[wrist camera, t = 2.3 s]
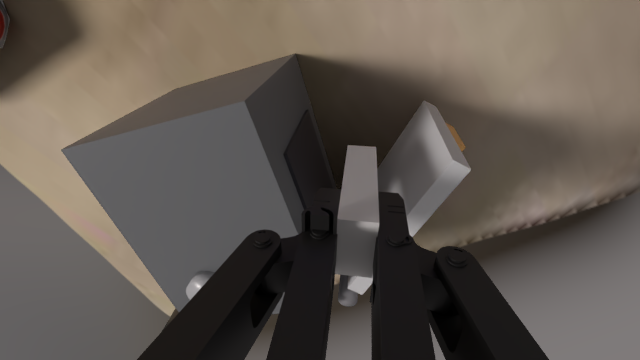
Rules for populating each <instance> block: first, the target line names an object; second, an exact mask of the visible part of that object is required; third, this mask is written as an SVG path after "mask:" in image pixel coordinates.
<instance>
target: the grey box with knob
mask: <svg viewBox="0 0 640 360" xmlns="http://www.w3.org/2000/svg"><path fill="white" fill-rule="evenodd" d="M61 151H62V152H63V153H64V155H65V156H66V158H67V159H68V160H69V162H70V163H71V164H72V166H73V167H74V169H75V170H76V171H77V173H78V174H79V176H80V177H81V178H82V180H83V181H84V182H85V184H86V185H87V187H88V188H89V189H90V191H91V192H92V193H93V195H94V196H95V198H96V199H97V200H98V202H99V203H100V204H101V206H102V207H103V209H104V210H105V211H106V213H107V214H108V215H109V217H110V218H111V220H112V221H113V222H114V224H115V225H116V226H117V228H118V229H119V231H120V232H121V233H122V235H123V236H124V237H125V239H126V240H127V242H128V243H129V244H130V246H131V247H132V248H133V250H134V251H135V253H136V254H137V255H138V257H139V258H140V259H141V261H142V262H143V264H144V265H145V266H146V268H147V269H148V270H149V272H150V273H151V275H152V276H153V277H154V279H155V280H156V281H157V283H158V284H159V286H160V287H161V288H162V290H163V291H164V293H165V294H166V295H167V297H168V298H169V299H170V301H171V302H172V304H173V305H174V306H175V308H176V309H177V310H178V312H180V311H181V310H182V309H183V308H184V306H185V305H186V304H187V303H188V302H189V301H190V300H191V299H192V298H193V296H194V295H195V294H196V293H197V292H198V291H199V290H200V289H201V287H202V286H203V285H204V284H205V283H206V282H207V281H208V280H209V279H210V277H211V276H212V275H213V274H214V273H215V272H216V271H217V270H218V268H219V267H220V266H221V265H222V264H223V263H224V262H225V261H226V259H227V258H228V257H229V256H230V255H231V254H232V253H233V252H234V251H235V249H236V248H237V247H238V246H239V245H240V244H241V243H242V242H243V240H244V239H245V238H246V237H247V236H248V235H250V234H251V233H253V232H255V231H258V230H264V229H265V230H272V231H274V232H276V233H278V235H279V236H280V238H288V237H293V236H296V235H298V234H300V233H301V232H302V217H301V214H302V212H303V211H304V210H305V209H306V208H308V207H310V206H312V204H313V201H314V196H315V193H316V192H317V191H318V190H319V189H320V188H333V189H337V188H336V184H335V181H334V178H333V175H332V171H331V168H330V165H329V162H328V158H327V155H326V152H325V149H324V145H323V142H322V139H321V135H320V132H319V129H318V126H317V122H316V119H315V116H314V113H313V109H312V106H311V103H310V100H309V96H308V93H307V90H306V86H305V83H304V80H303V77H302V73H301V70H300V67H299V64H298V60H297V57H296V54H293V55H289V56H286V57H282V58H279V59H276V60H272V61H269V62H265V63H262V64H259V65H255V66H252V67H248V68H245V69H242V70H238V71H235V72H231V73H228V74H225V75H221V76H218V77H214V78H211V79H208V80H204V81H201V82H197V83H194V84H191V85H187V86H184V87H181V88H177V89H174V90H172V91H171V92H169V93H167V94H165V95H163V96H161V97H159V98H157V99H156V100H154V101H152V102H150V103H148V104H146V105H144V106H142V107H140V108H139V109H137V110H135V111H133V112H131V113H129V114H127V115H125V116H124V117H122V118H120V119H118V120H116V121H114V122H112V123H110V124H109V125H107V126H105V127H103V128H101V129H99V130H97V131H95V132H94V133H92V134H90V135H88V136H86V137H84V138H82V139H80V140H78V141H77V142H75V143H73V144H71V145H69V146H67V147H65V148H63V149H62V150H61ZM284 294H285V292H284V293H283V296H282V298H281V299H280V301H279V302H278V304H277V306H276V307H275V309H274V311H273V312H272V314H279V312H280V308H281V305H282V301H283V297H284Z"/></svg>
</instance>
